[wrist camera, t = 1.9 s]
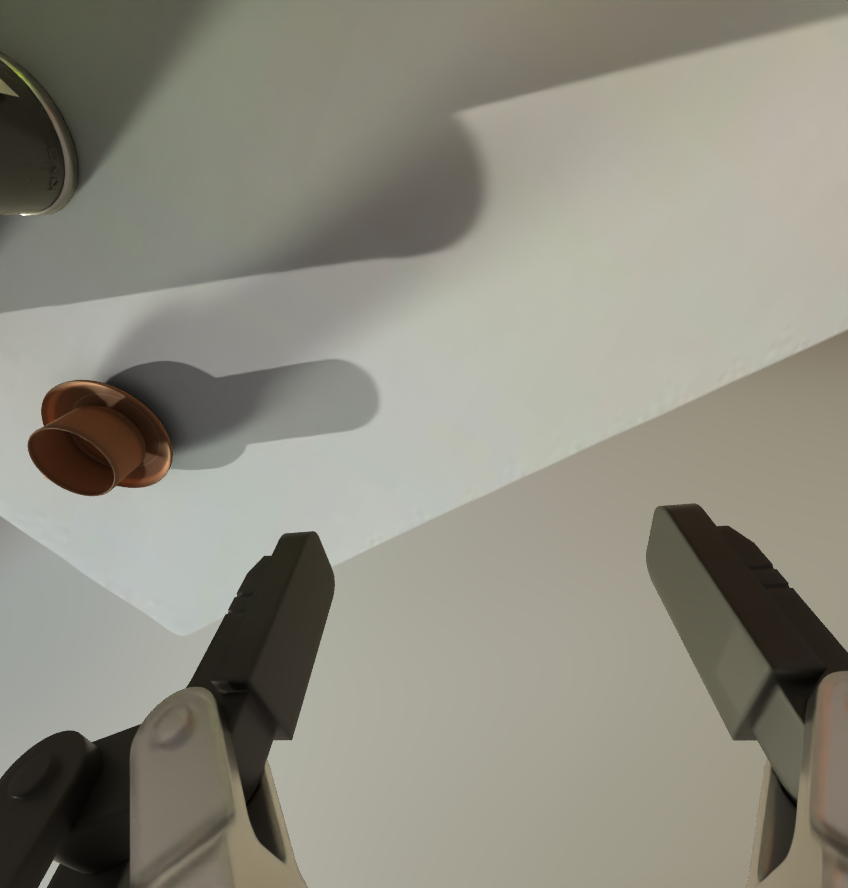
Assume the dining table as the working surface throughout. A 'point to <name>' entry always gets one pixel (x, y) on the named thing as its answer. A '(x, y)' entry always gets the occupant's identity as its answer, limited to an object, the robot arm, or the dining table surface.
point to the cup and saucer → (98, 440)
